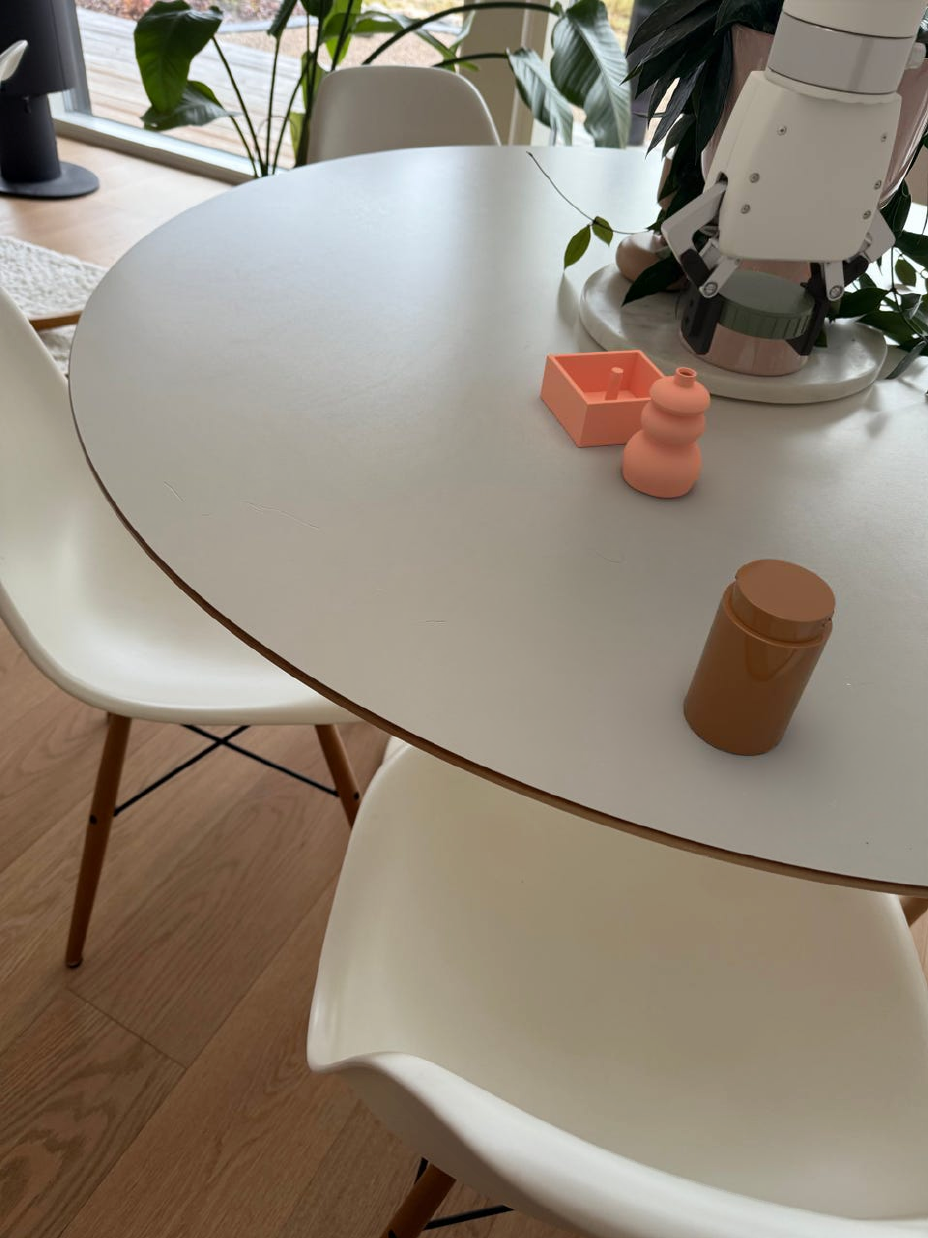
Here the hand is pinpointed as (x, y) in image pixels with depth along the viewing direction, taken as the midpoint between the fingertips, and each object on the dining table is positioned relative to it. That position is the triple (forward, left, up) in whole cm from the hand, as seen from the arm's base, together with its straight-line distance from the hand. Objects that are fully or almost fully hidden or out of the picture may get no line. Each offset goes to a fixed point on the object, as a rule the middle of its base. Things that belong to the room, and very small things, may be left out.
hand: (745, 344), depth 69 cm
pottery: (+9, -10, -16) cm, 21 cm away
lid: (0, 0, +4) cm, 4 cm away
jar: (-9, +18, -16) cm, 26 cm away
